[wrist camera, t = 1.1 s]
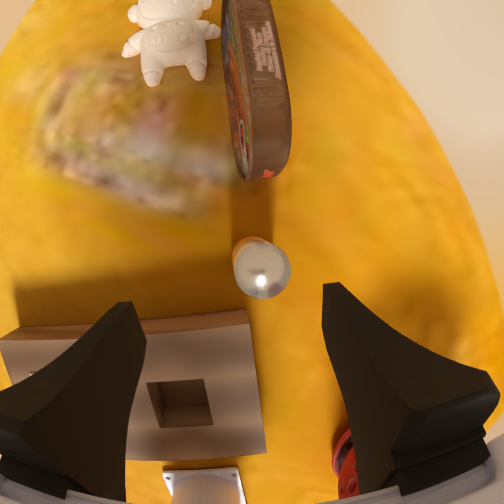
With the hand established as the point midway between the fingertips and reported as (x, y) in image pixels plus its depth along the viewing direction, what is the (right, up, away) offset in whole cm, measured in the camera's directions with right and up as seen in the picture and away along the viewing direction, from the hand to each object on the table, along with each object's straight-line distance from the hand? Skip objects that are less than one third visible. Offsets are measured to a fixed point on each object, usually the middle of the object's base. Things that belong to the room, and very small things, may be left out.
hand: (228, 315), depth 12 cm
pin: (+1, +2, +13) cm, 14 cm away
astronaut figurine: (-6, +22, +11) cm, 25 cm away
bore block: (-10, -9, +14) cm, 19 cm away
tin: (0, +15, +12) cm, 19 cm away
